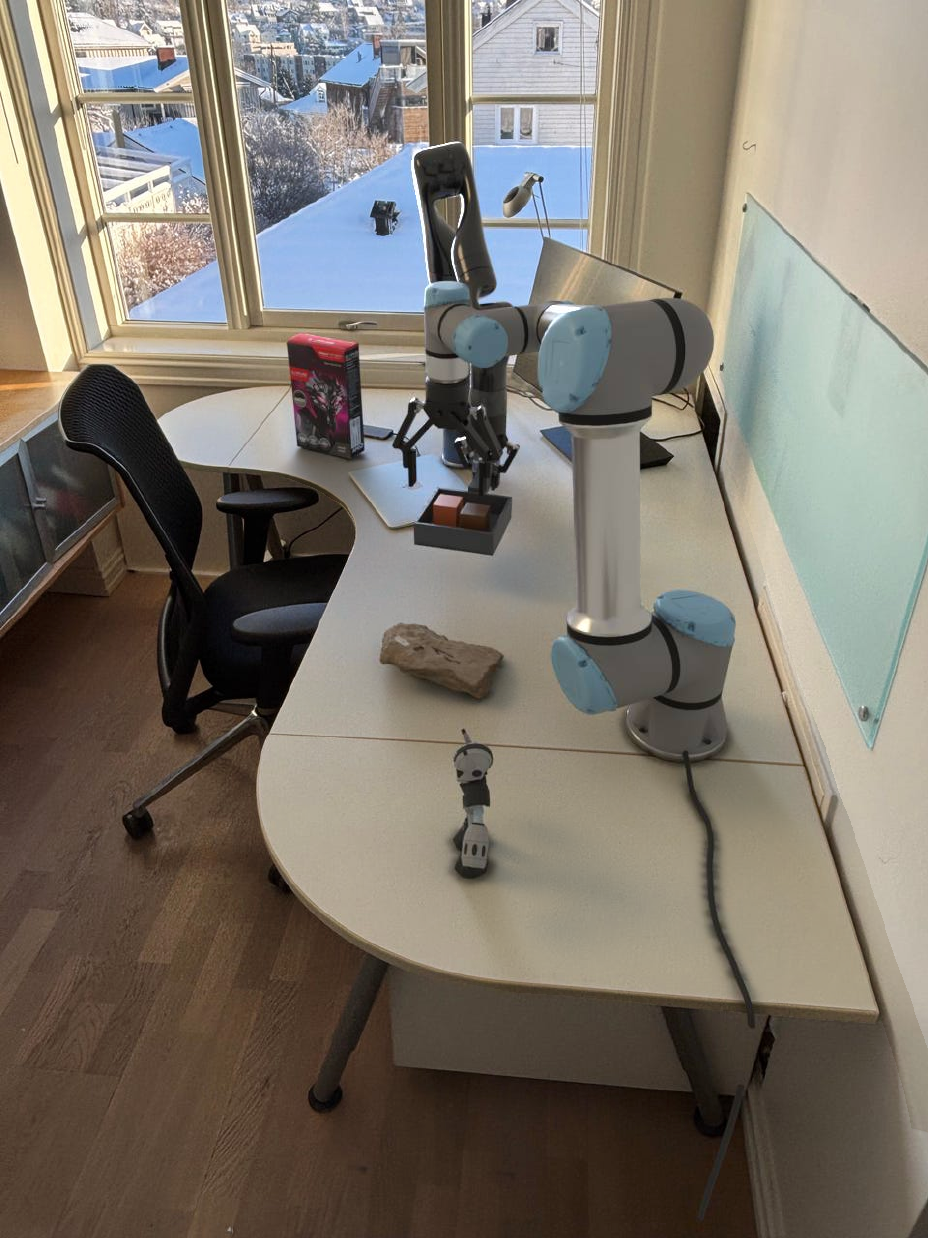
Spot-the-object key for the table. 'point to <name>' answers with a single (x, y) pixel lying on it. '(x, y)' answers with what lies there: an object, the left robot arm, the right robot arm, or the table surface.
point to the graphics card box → (326, 394)
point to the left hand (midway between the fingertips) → (485, 487)
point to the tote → (462, 537)
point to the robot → (473, 807)
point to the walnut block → (476, 517)
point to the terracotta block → (448, 510)
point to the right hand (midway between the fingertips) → (447, 488)
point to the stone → (440, 658)
